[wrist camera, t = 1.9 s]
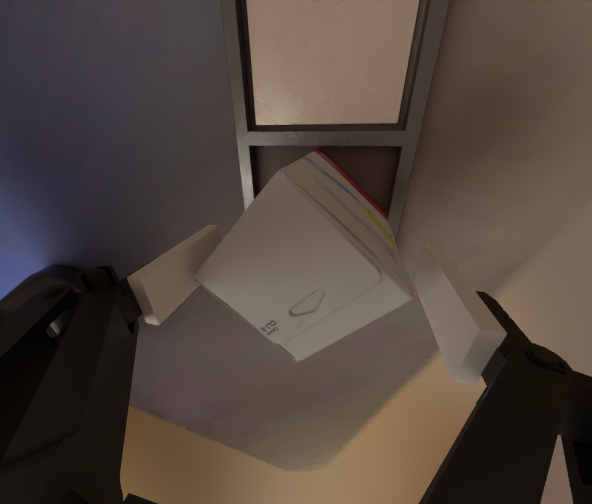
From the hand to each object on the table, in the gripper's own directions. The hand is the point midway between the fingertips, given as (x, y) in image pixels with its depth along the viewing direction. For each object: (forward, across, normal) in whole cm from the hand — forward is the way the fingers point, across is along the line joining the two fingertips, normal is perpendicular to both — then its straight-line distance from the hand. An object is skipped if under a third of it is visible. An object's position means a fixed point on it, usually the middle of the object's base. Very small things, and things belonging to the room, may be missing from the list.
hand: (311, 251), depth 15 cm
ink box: (+8, 0, 0) cm, 8 cm away
